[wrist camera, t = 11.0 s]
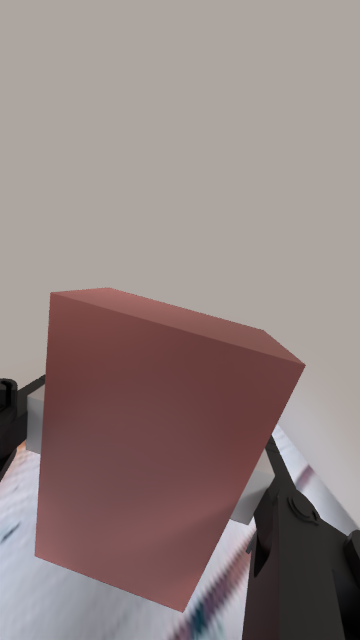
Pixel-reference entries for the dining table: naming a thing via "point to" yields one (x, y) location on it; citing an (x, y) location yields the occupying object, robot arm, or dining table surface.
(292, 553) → the robot arm
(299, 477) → the dining table surface
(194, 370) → the red rectangular block
